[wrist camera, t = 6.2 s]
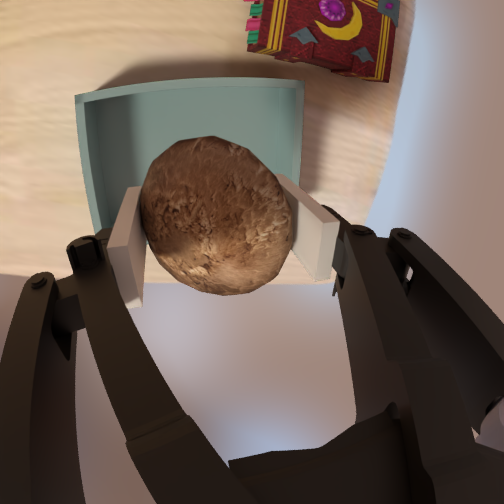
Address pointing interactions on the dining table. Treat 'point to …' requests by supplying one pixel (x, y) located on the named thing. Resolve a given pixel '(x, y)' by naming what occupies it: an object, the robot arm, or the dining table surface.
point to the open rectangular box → (182, 129)
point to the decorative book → (327, 34)
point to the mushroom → (215, 216)
